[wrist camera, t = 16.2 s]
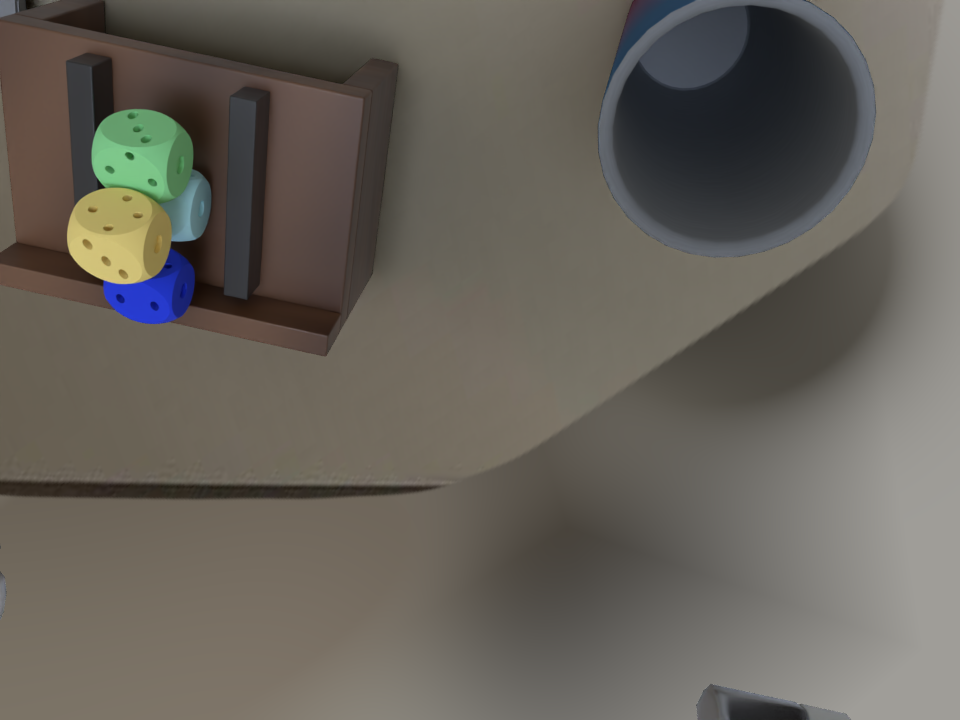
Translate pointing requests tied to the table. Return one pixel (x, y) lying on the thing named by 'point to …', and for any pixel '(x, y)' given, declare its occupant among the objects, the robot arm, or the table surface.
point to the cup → (733, 122)
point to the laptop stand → (202, 171)
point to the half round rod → (11, 7)
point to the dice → (141, 215)
